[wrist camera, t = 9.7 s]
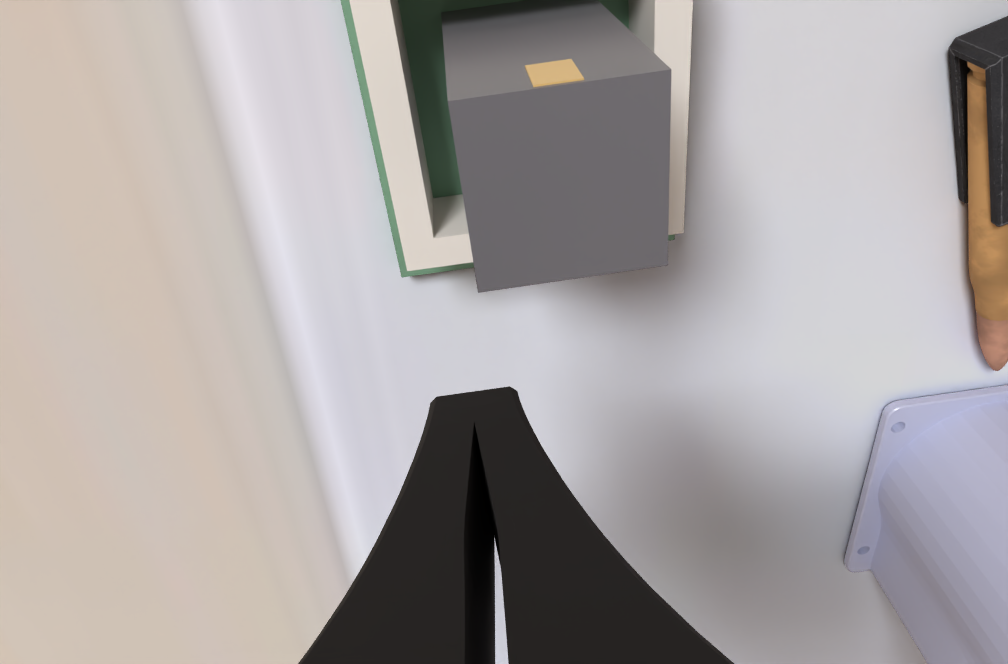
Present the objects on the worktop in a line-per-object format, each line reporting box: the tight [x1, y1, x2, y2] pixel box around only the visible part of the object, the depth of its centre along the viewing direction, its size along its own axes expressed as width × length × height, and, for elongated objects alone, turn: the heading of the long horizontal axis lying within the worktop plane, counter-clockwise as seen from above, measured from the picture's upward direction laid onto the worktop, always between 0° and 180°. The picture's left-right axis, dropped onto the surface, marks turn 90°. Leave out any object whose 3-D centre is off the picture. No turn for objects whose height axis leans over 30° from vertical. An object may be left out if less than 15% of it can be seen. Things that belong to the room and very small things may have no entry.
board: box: [341, 0, 693, 277], centre depth 17 cm, size 10×8×3 cm
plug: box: [441, 0, 671, 293], centre depth 15 cm, size 4×4×7 cm
